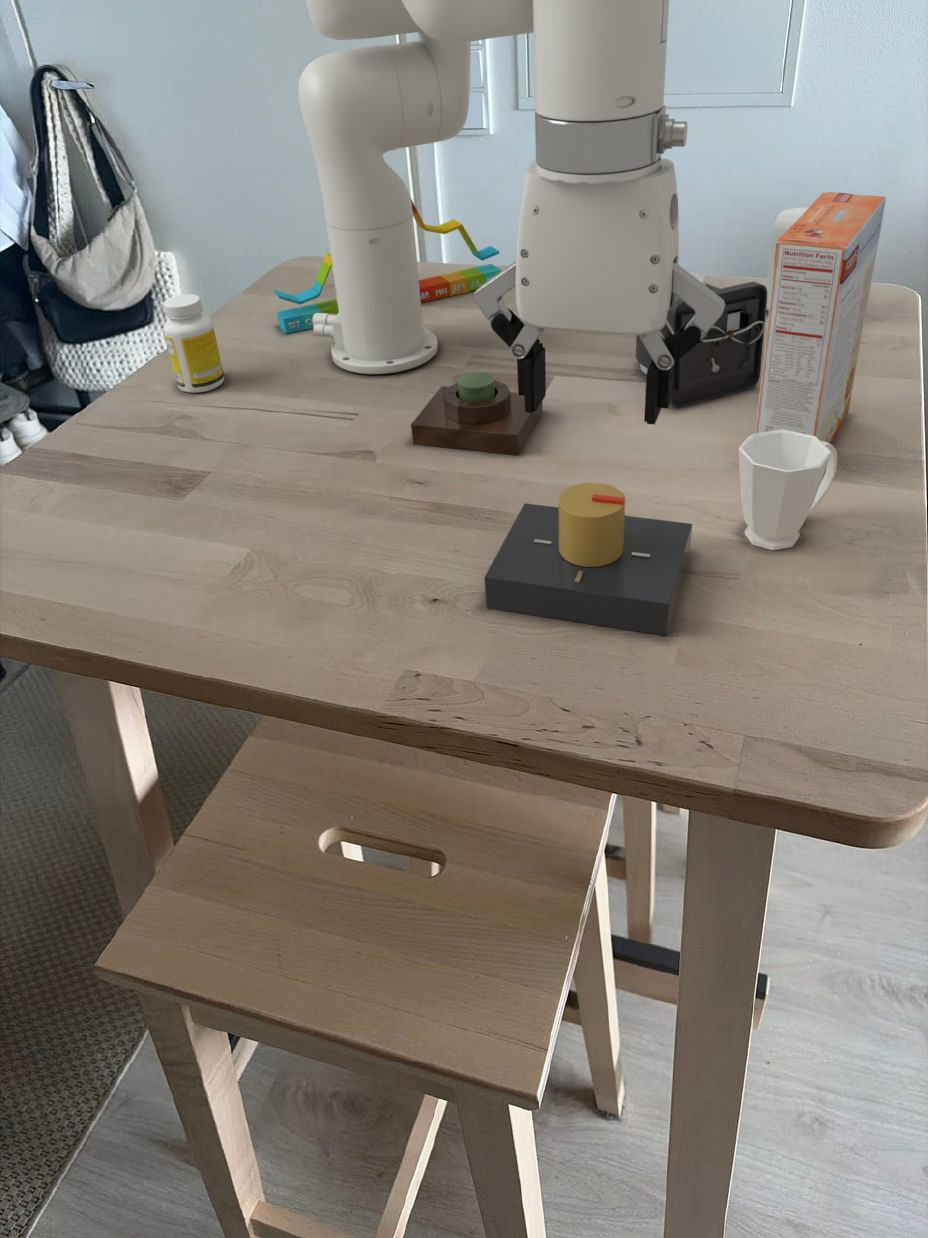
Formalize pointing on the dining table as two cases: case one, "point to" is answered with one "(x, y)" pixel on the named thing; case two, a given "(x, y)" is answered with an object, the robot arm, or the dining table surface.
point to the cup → (782, 484)
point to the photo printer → (779, 229)
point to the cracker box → (818, 314)
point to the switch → (476, 387)
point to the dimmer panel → (590, 574)
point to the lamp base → (476, 421)
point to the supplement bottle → (192, 345)
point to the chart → (428, 287)
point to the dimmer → (591, 524)
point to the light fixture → (718, 346)
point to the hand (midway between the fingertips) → (593, 408)
